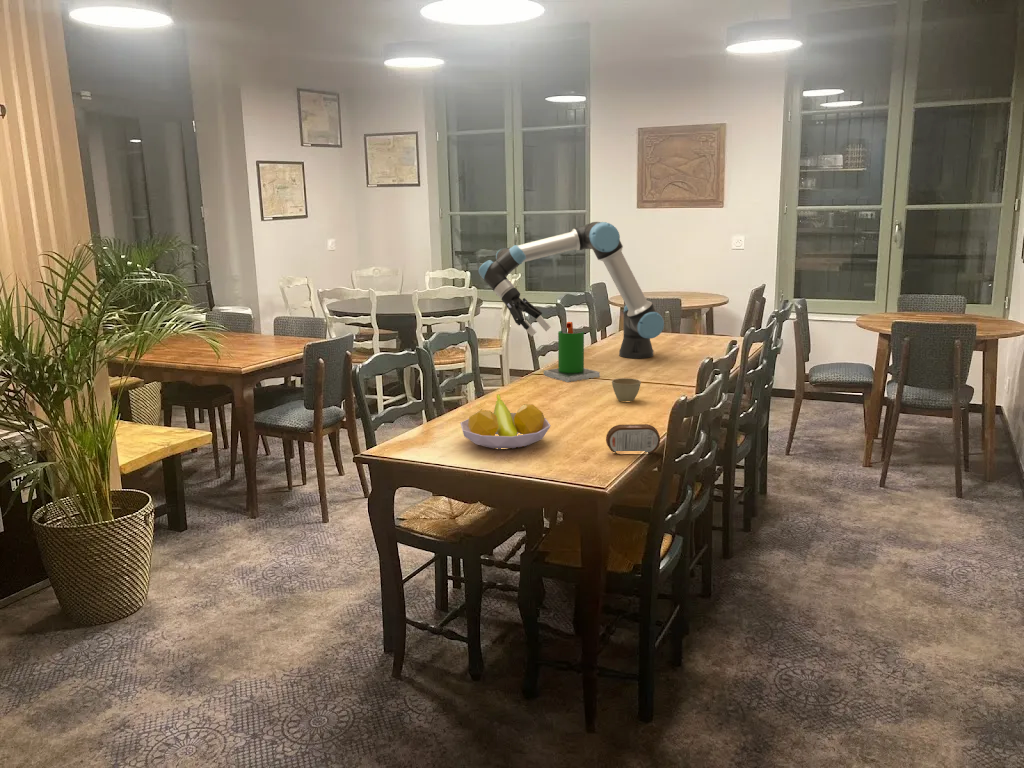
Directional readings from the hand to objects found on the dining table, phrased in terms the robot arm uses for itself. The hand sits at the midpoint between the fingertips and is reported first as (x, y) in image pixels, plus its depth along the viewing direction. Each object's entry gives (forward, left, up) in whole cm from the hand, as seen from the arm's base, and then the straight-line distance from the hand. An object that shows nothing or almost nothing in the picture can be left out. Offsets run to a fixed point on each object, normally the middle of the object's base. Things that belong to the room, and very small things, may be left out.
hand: (541, 331), depth 338 cm
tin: (+41, +103, -18) cm, 112 cm away
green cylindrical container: (-6, +11, -15) cm, 20 cm away
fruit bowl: (+63, +72, -17) cm, 98 cm away
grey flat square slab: (-7, +11, -17) cm, 22 cm away
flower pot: (+2, +55, -17) cm, 58 cm away
